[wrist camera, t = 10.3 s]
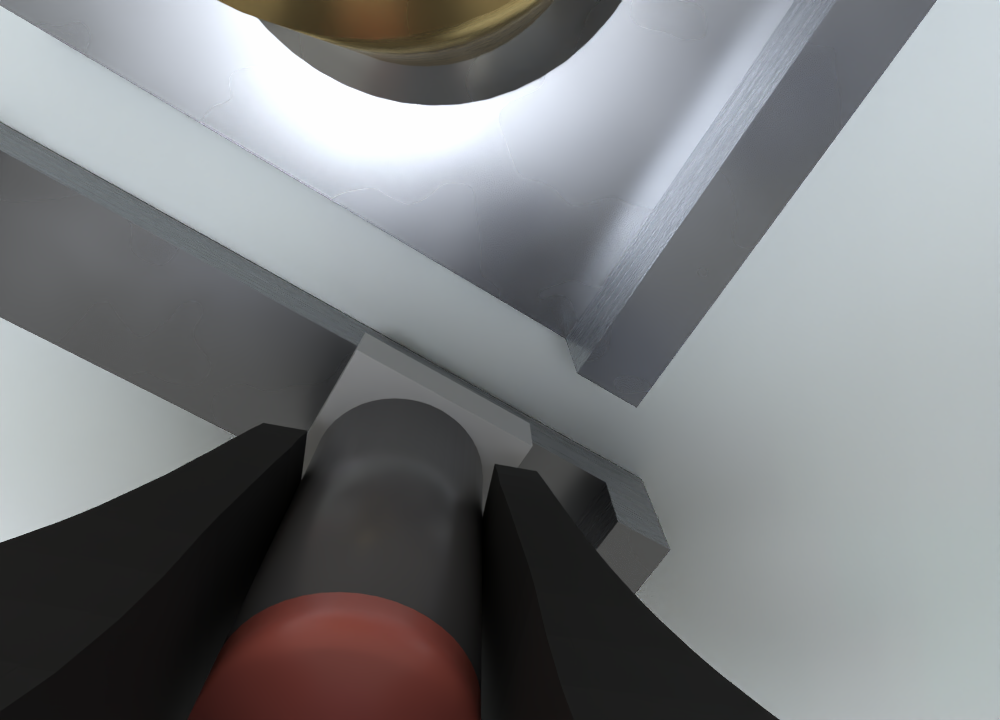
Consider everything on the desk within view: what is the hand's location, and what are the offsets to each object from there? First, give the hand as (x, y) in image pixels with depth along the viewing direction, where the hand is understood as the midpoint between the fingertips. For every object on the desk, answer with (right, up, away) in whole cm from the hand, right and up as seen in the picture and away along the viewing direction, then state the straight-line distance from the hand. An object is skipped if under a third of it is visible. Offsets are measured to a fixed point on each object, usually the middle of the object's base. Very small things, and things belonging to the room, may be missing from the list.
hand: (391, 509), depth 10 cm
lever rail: (-2, +2, +2) cm, 4 cm away
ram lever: (0, +1, +2) cm, 2 cm away
